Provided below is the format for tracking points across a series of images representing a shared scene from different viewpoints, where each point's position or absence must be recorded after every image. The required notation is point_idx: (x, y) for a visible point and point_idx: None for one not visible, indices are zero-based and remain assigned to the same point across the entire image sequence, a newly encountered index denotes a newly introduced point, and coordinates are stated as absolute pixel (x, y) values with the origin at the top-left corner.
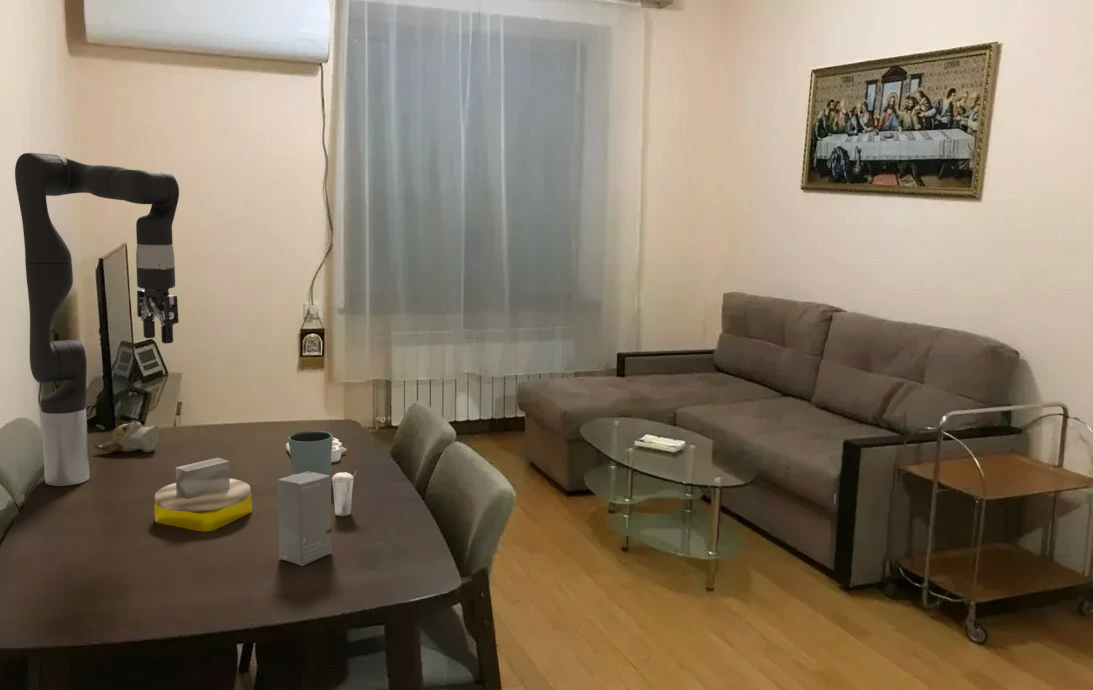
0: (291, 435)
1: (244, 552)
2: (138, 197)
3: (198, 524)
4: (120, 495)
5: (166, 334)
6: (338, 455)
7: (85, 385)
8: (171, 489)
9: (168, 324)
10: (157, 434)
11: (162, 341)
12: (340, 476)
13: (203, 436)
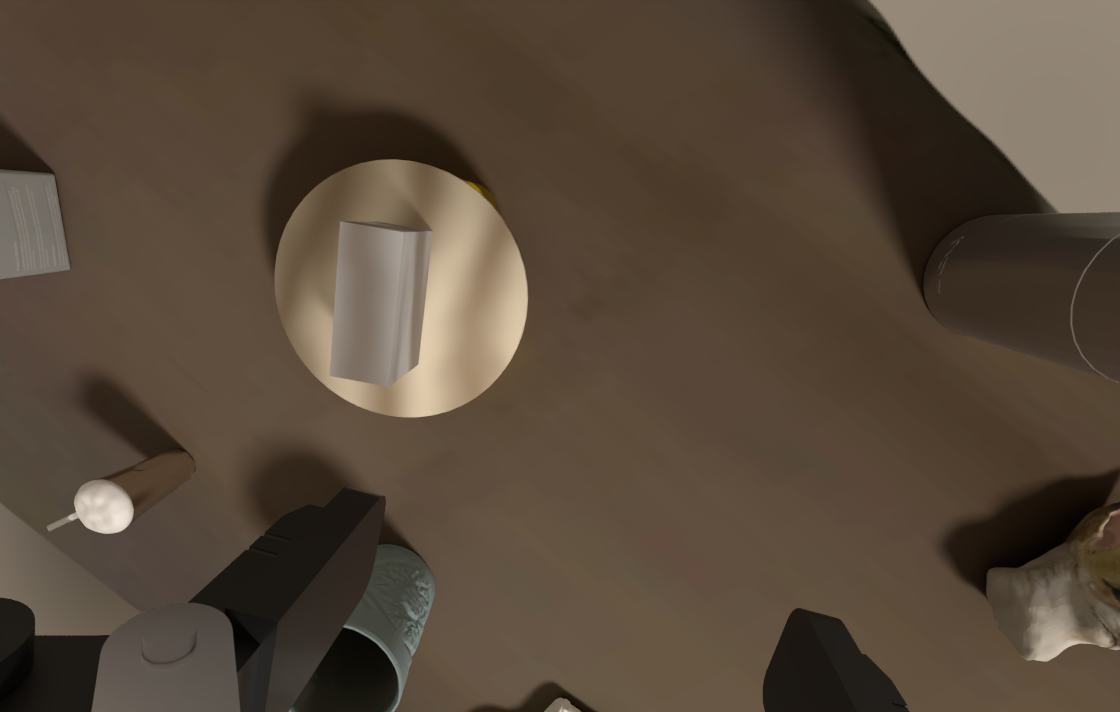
0: (394, 665)
1: (147, 162)
2: None
3: None
4: (733, 273)
5: (250, 551)
6: None
7: None
8: (485, 257)
9: (57, 646)
10: (1005, 633)
11: (356, 491)
12: (81, 494)
13: None
